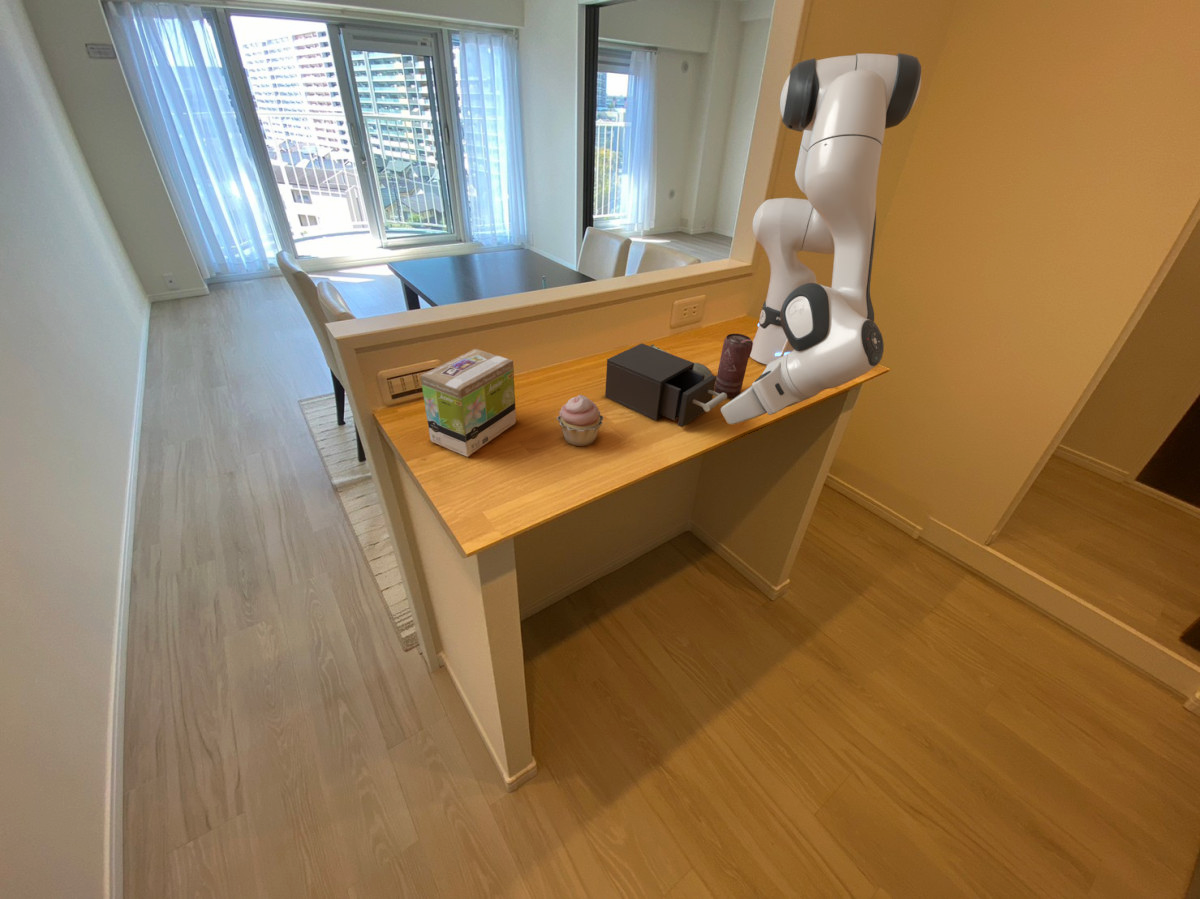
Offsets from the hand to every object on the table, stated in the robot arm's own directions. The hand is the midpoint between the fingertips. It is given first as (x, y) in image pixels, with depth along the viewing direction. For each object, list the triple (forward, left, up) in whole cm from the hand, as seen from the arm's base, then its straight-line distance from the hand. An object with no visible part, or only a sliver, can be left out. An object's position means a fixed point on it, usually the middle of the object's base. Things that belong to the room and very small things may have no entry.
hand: (729, 407), depth 99 cm
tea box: (+51, 0, -6) cm, 52 cm away
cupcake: (+30, +2, -6) cm, 31 cm away
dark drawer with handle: (+8, -8, -5) cm, 13 cm away
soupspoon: (+3, -32, -6) cm, 33 cm away
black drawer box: (+14, -14, -6) cm, 21 cm away
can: (-6, -17, -6) cm, 19 cm away
